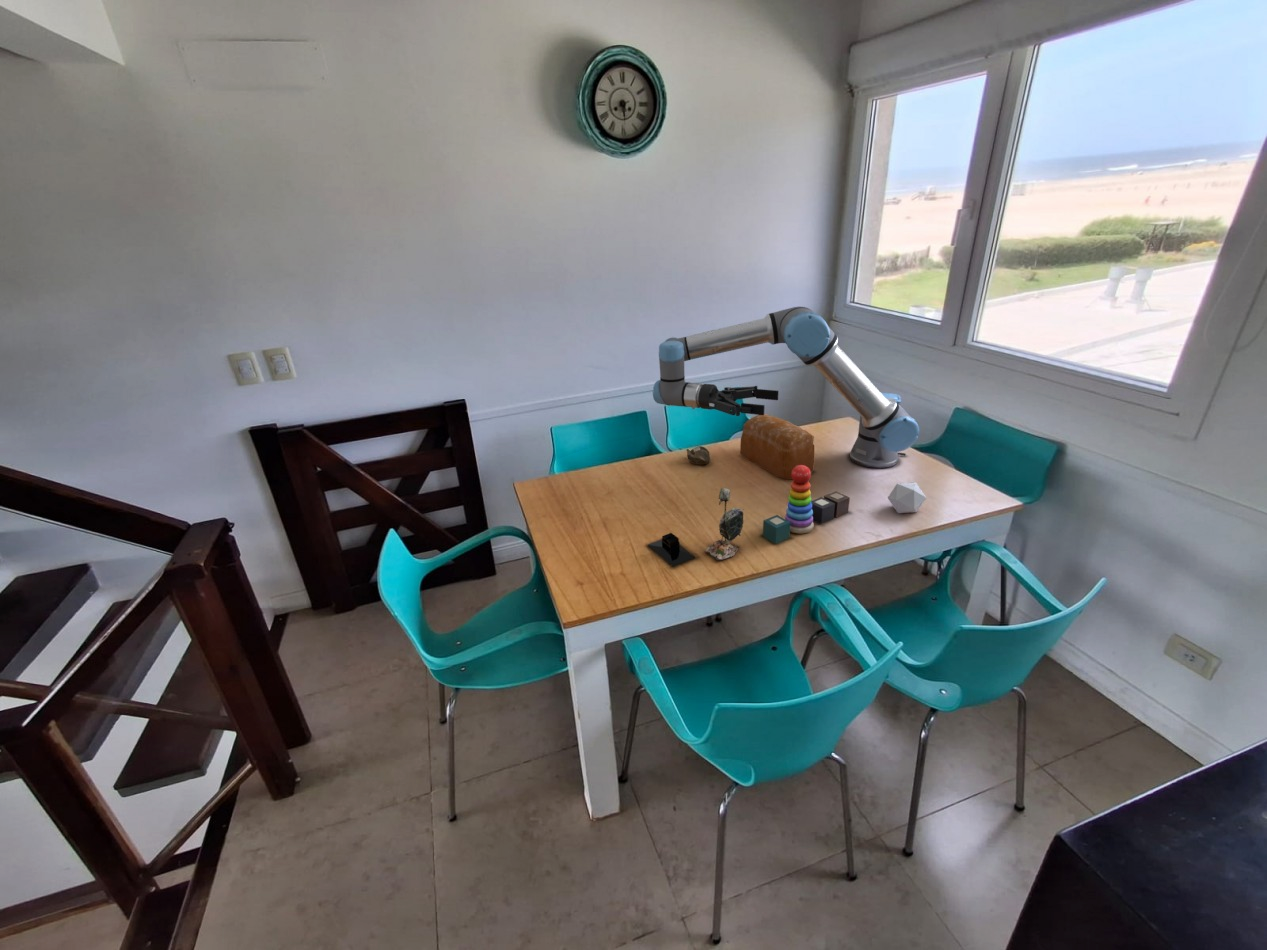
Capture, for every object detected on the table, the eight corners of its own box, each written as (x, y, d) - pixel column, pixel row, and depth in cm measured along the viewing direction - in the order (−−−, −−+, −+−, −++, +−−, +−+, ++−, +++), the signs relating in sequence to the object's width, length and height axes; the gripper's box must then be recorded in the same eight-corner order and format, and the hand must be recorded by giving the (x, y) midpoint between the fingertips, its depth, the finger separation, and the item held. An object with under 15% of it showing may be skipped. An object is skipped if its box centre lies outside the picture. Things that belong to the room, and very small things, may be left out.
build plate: (647, 546, 152) (646, 531, 150) (670, 537, 155) (669, 523, 153) (673, 567, 142) (672, 551, 140) (696, 557, 145) (695, 542, 143)
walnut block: (834, 505, 164) (836, 490, 162) (848, 512, 160) (850, 496, 158) (822, 510, 162) (823, 495, 160) (836, 517, 158) (837, 501, 156)
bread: (784, 482, 180) (787, 437, 173) (736, 455, 201) (737, 414, 195) (817, 472, 185) (821, 428, 178) (767, 447, 207) (769, 406, 200)
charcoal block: (820, 511, 162) (821, 496, 159) (833, 518, 158) (835, 503, 155) (807, 517, 159) (808, 501, 157) (821, 524, 156) (822, 508, 153)
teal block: (776, 530, 154) (777, 514, 152) (789, 538, 150) (790, 521, 148) (762, 536, 152) (763, 519, 150) (775, 544, 148) (776, 527, 146)
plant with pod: (752, 551, 146) (754, 483, 137) (715, 564, 142) (715, 494, 133) (734, 537, 152) (735, 471, 144) (699, 549, 148) (697, 482, 140)
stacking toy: (815, 522, 156) (821, 462, 148) (810, 537, 150) (815, 474, 142) (787, 518, 160) (791, 458, 152) (781, 531, 153) (784, 470, 145)
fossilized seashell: (681, 451, 202) (687, 466, 194) (691, 437, 199) (697, 452, 191) (698, 458, 205) (705, 473, 197) (708, 444, 202) (715, 459, 194)
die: (919, 523, 154) (937, 491, 153) (891, 508, 154) (909, 476, 153) (904, 518, 162) (921, 488, 162) (877, 504, 162) (894, 473, 161)
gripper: (717, 395, 179) (782, 401, 170) (685, 421, 160) (757, 430, 150) (717, 373, 176) (783, 377, 166) (684, 396, 157) (758, 403, 147)
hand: (771, 402), depth 158 cm, fingers open, 13 cm apart
